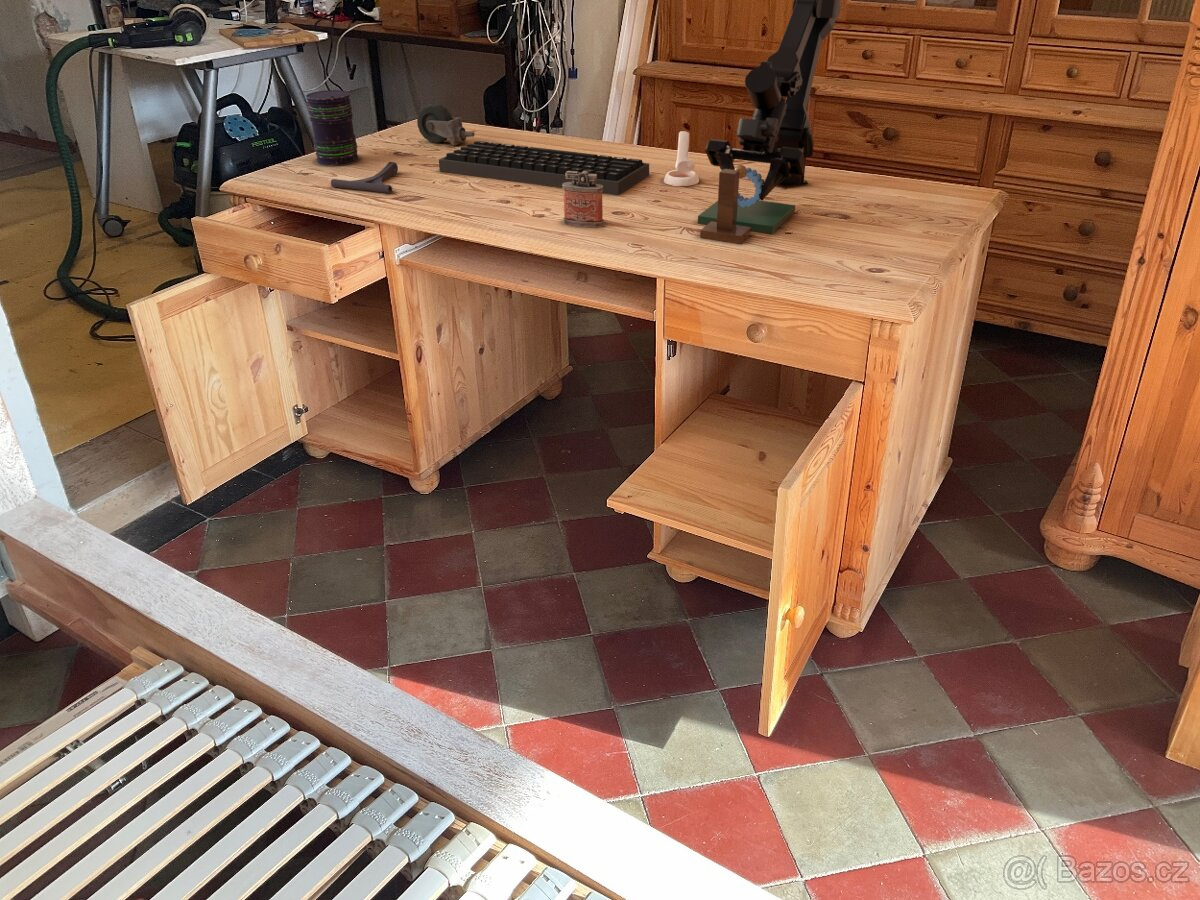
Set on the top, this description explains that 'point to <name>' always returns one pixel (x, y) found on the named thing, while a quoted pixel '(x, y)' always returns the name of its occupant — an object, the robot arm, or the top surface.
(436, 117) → the caster wheel
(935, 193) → the top surface
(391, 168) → the dark grey branched pipe
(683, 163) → the white piece
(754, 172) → the blue fluted ring
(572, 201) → the lighter
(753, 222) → the cutting board
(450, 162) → the computer keyboard
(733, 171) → the peg stand
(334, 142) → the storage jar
